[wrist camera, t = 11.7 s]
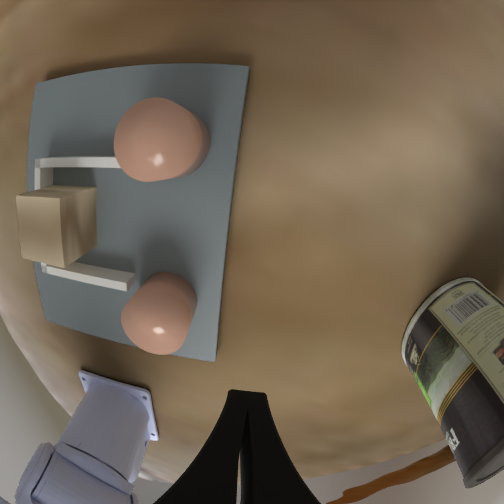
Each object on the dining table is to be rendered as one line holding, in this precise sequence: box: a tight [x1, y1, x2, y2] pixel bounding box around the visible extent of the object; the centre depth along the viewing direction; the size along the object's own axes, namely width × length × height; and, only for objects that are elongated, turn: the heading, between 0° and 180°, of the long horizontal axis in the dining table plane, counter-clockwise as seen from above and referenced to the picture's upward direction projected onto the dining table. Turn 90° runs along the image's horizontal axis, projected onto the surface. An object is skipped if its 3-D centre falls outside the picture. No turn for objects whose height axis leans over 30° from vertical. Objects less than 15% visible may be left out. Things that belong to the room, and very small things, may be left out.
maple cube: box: [16, 185, 97, 268], centre depth 15 cm, size 4×4×4 cm
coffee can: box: [402, 277, 504, 488], centre depth 13 cm, size 10×10×14 cm
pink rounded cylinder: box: [121, 272, 197, 355], centre depth 17 cm, size 4×4×4 cm
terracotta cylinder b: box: [114, 97, 210, 182], centre depth 13 cm, size 4×4×4 cm
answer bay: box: [35, 156, 136, 291], centre depth 16 cm, size 8×8×2 cm
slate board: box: [27, 63, 250, 362], centre depth 17 cm, size 20×16×1 cm
